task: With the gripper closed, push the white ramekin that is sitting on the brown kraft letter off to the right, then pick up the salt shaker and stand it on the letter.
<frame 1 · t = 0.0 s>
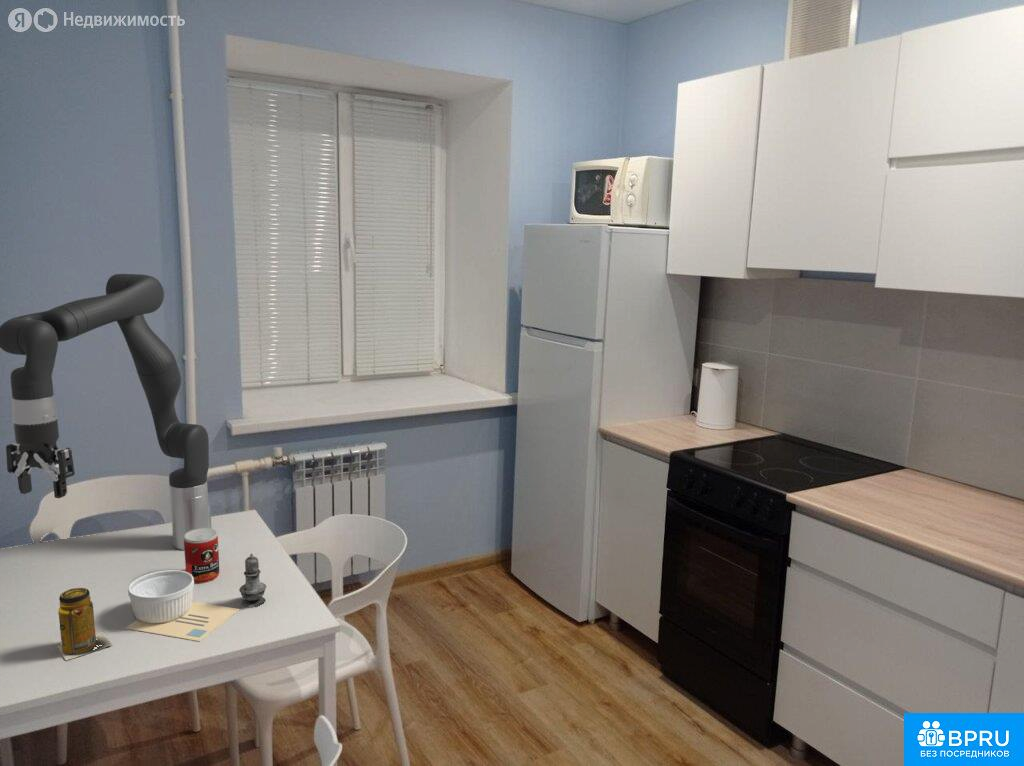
hand: (43, 494, 155), 29 cm above the table, tool pointing down, fingers open, 8 cm apart
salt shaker: (253, 603, 173), on the table
letter: (184, 618, 164), on the table
condiment: (84, 647, 153), on the table
canned food: (203, 577, 185), on the table
ramekin: (163, 612, 167), resting on letter
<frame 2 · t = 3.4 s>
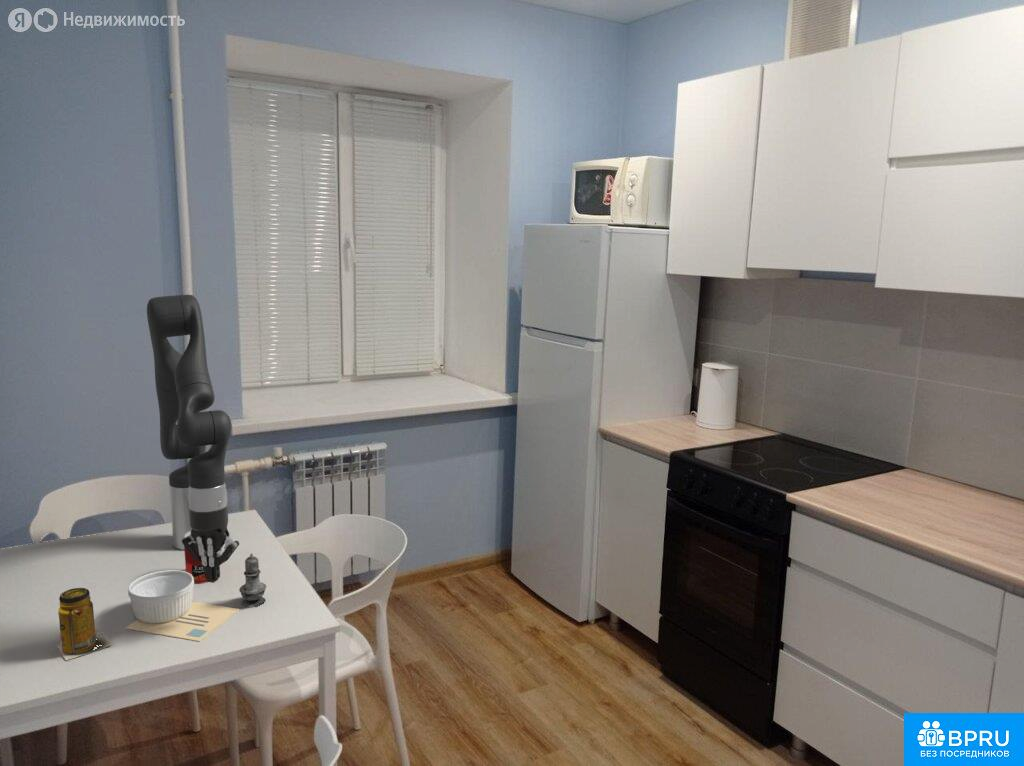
hand: (212, 580, 162), 10 cm above the table, tool pointing down, fingers closed
nothing on the table moved.
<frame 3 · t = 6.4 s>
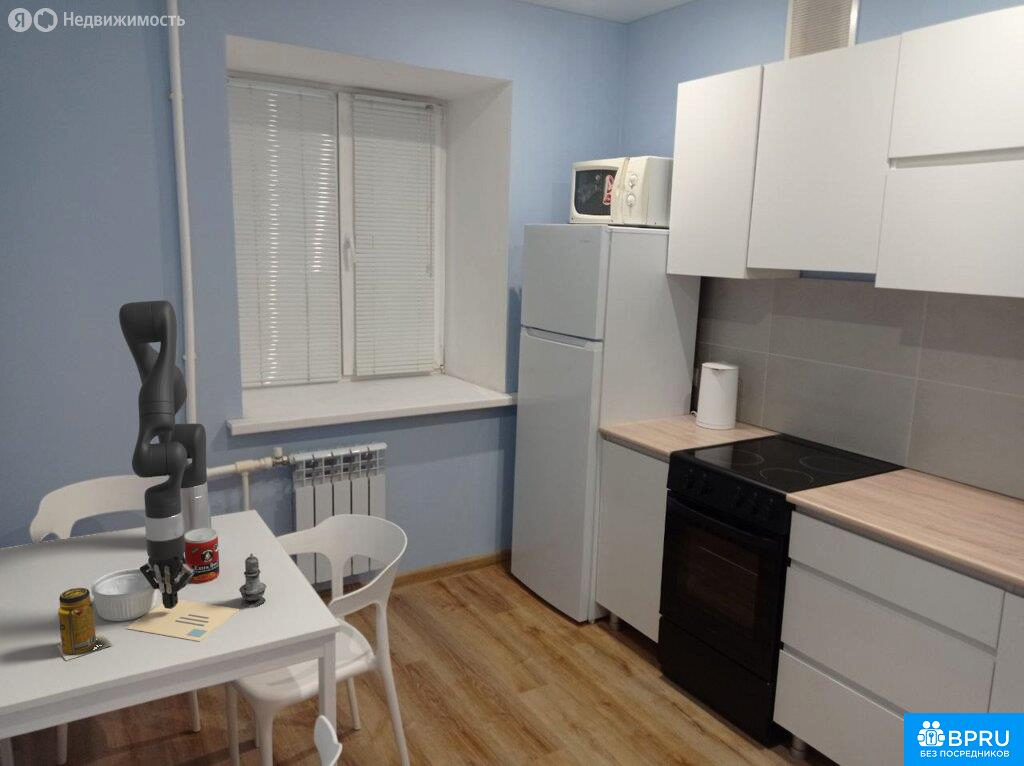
hand: (170, 606, 166), 2 cm above the table, tool pointing down, fingers closed
ramekin: (128, 610, 167), on the table, touching hand, letter
everything else where it was.
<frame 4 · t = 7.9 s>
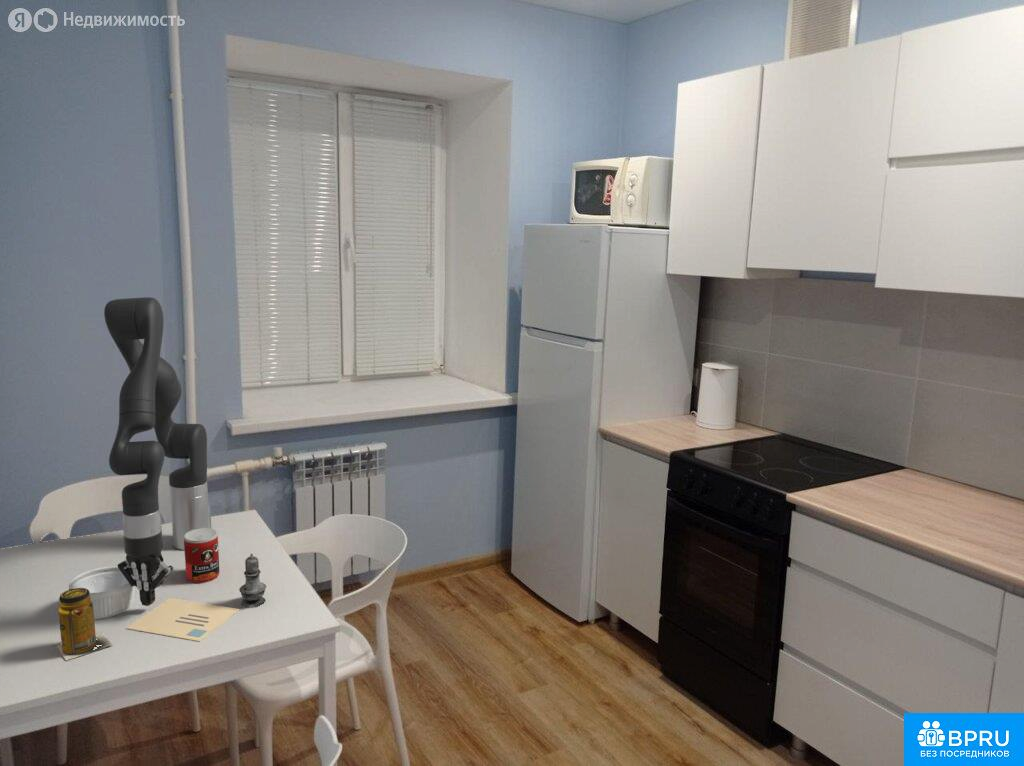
hand: (147, 603, 167), 2 cm above the table, tool pointing down, fingers closed
ramekin: (105, 608, 168), on the table
everything else where it was.
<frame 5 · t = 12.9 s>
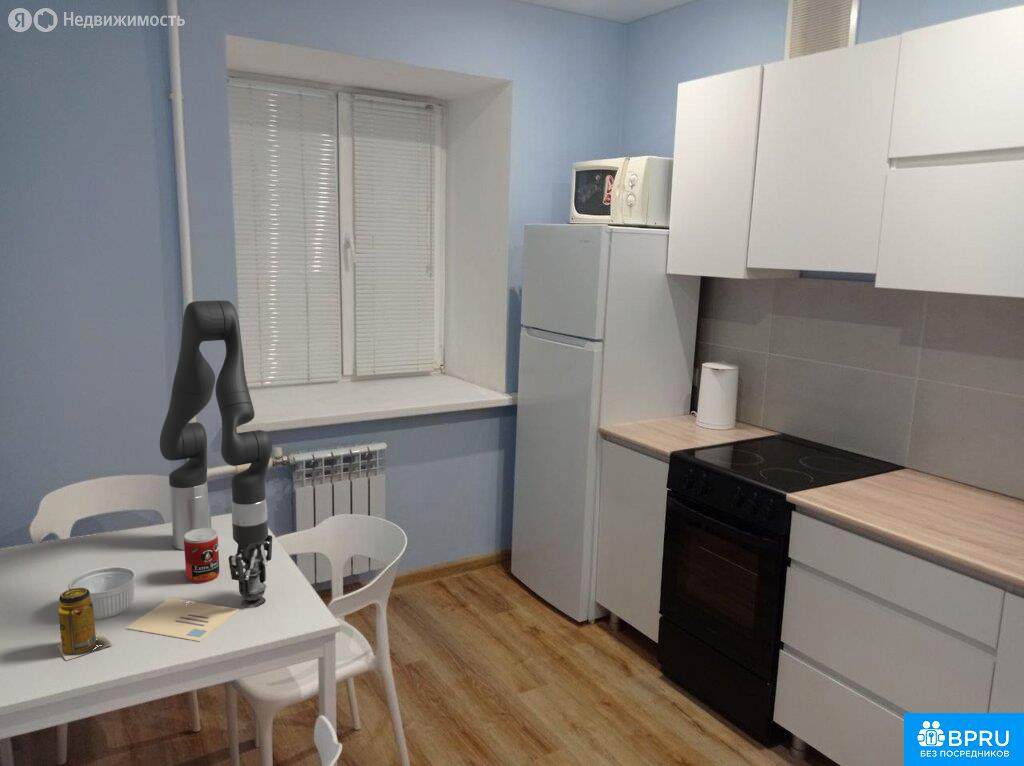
hand: (253, 587, 172), 4 cm above the table, tool pointing down, fingers closed on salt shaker, 6 cm apart
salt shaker: (253, 602, 173), on the table, touching gripper
everything else where it was.
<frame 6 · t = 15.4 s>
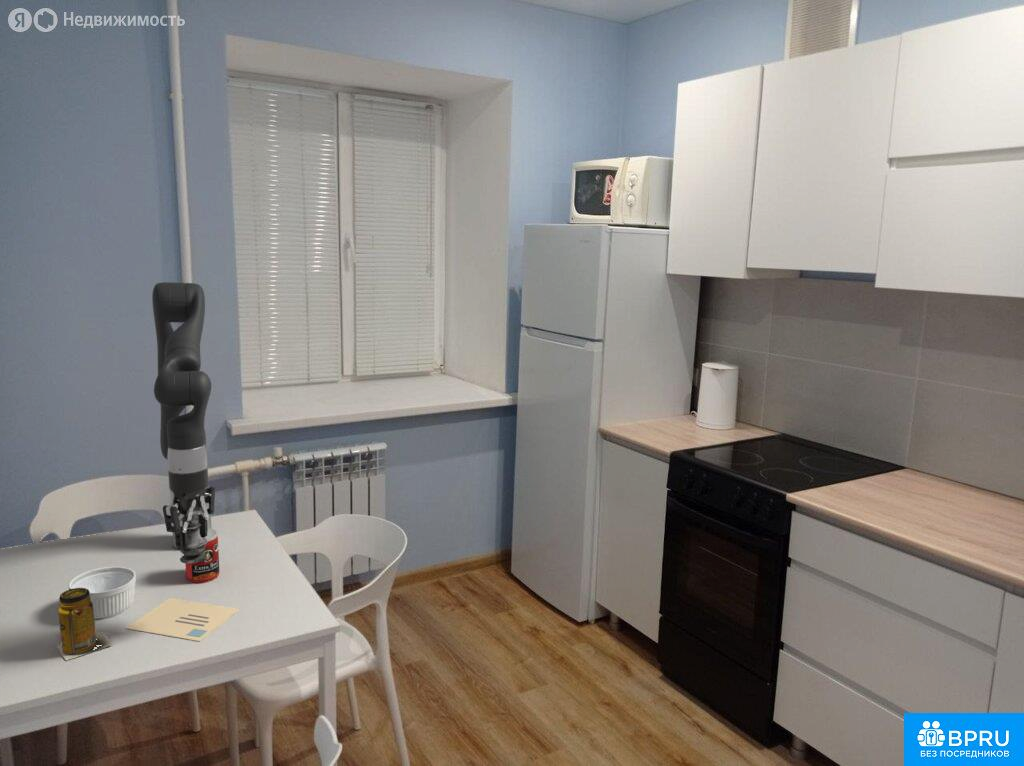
hand: (192, 542, 159), 19 cm above the table, tool pointing down, fingers closed on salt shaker, 6 cm apart
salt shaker: (193, 559, 160), point 15 cm above the table, touching gripper
everything else where it was.
when the fingers open (5 cm above the table, at t = 18.4 s): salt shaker stays where it is, resting on letter.
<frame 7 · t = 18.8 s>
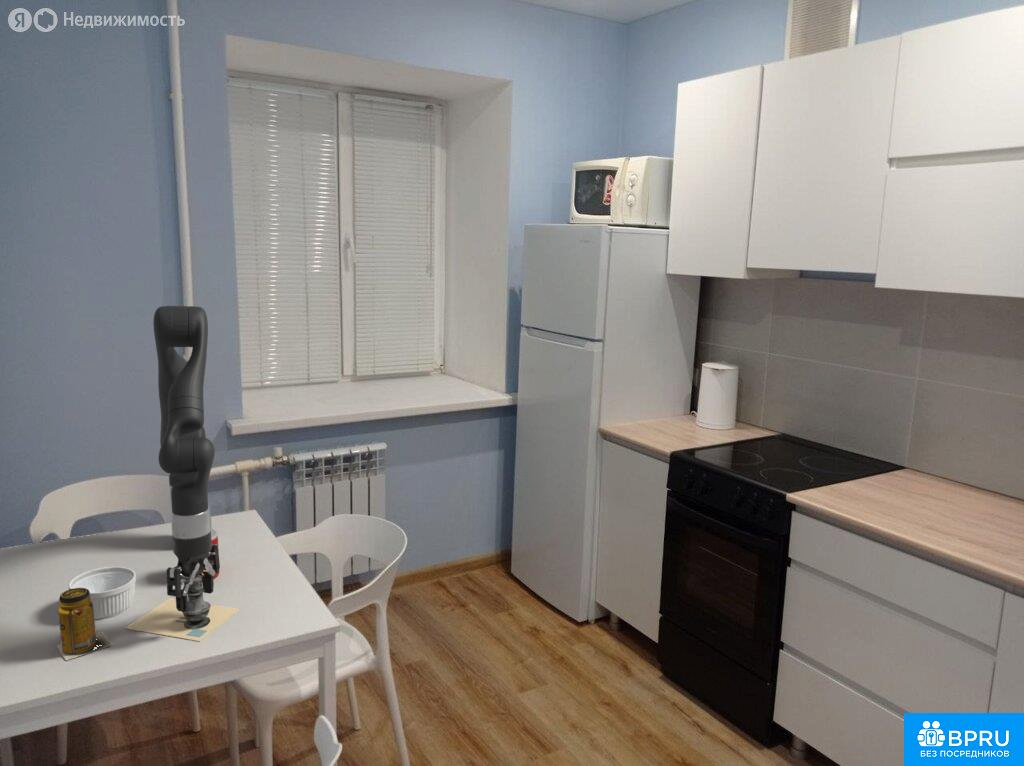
hand: (195, 601, 161), 5 cm above the table, tool pointing down, fingers open, 8 cm apart
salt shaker: (197, 623, 163), resting on letter
everything else where it was.
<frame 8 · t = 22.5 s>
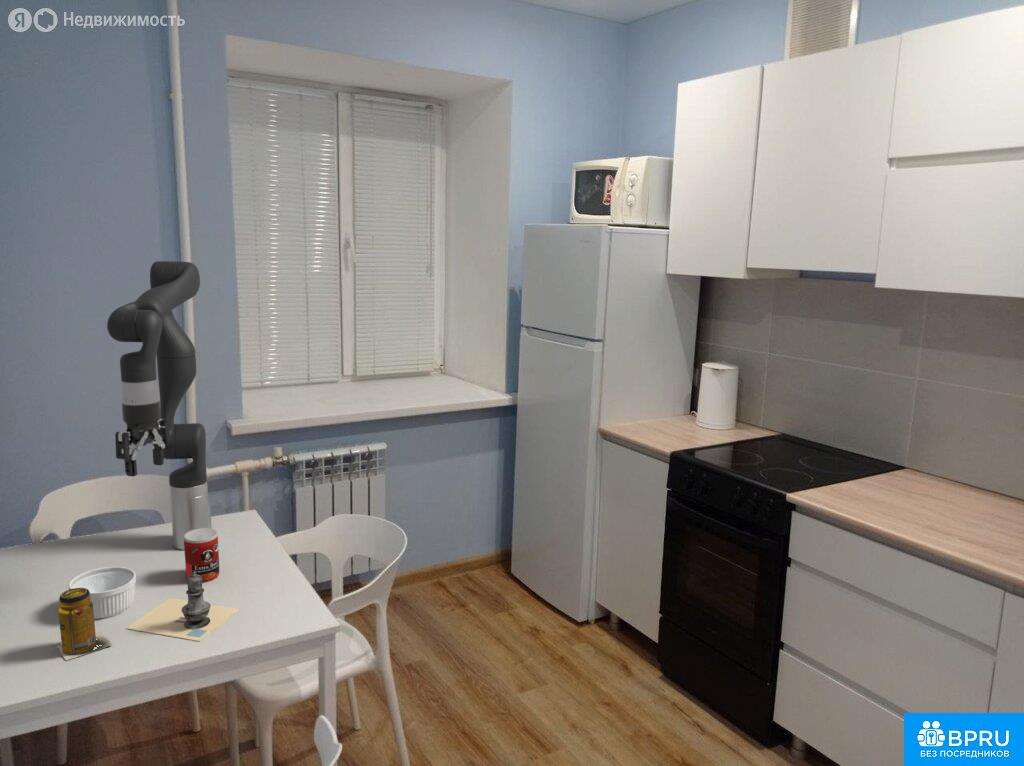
hand: (145, 470, 169), 30 cm above the table, tool pointing down, fingers open, 8 cm apart
nothing on the table moved.
at the end: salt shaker inside the target area on the letter (4.1 cm from its centre), point 0.0 cm above the letter's base; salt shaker tilted 0°; ramekin inside the target area (3.1 cm from its centre), on the table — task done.
